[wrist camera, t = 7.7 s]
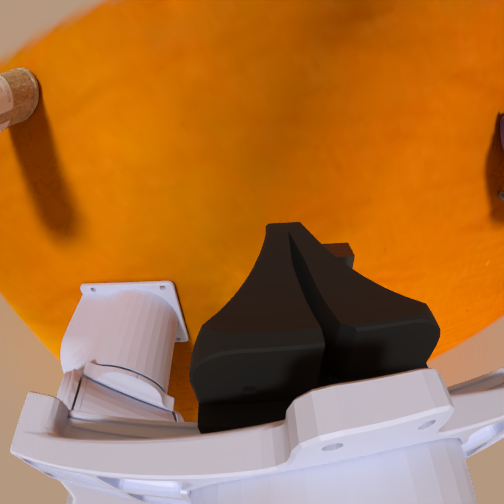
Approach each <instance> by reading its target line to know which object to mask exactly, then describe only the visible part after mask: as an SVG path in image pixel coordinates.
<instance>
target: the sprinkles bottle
mask: <svg viewBox="0 0 504 504" xmlns="http://www.w3.org/2000/svg"><path fill="white" fill-rule="evenodd" d="M38 89H39V86H38V82H37V79H36V77H35V76H34V75H33V73H32V72H31V71H30V70H28V69H27V68H15V69H12V70H10V71H8V72H3V73H0V132H1V131H3V130H4V129H5V128H7V127H9V126H11V125H13V124H16V123H21V122H23V121H25V120H26V119H28V118H29V117H30V116H31V114H32V113H33V112H34V110H35V108H36V106H37V104H38V98H39V90H38Z"/></svg>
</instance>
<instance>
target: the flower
mask: <svg viewBox="0 0 504 504" xmlns="http://www.w3.org/2000/svg"><path fill="white" fill-rule="evenodd" d="M500 134H501V143H502V147H503V150H504V115H503V116H502V117H501V119H500ZM498 197H499V198H500V199H501V200H503V201H504V191H500V192H499V194H498Z"/></svg>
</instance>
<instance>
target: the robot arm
mask: <svg viewBox="0 0 504 504" xmlns="http://www.w3.org/2000/svg"><path fill="white" fill-rule="evenodd" d="M162 286H165V287H162ZM93 288H94V289H93ZM80 290H81V292H82V294H83V295H82V297H81V299H80V302H79V304H78V306H77V308H76V310H75V312H74V314H73V317H72V319H71V321H70V323H69V325H68V328H67V330H66V332H65V335H64V337H63V340H62V344H61V366H62V369H63V372H64V377H63V380H62V382H61V385H60V387H59V390H58V393H57V396H56V397H54V396H50V395H46V394H41V393H36V392H28V395H27V398H26V401H25V403H24V406H23V409H22V412H21V415H20V419H19V421H18V425H17V428H16V431H15V434H14V438H13V441H12V445H11V448H10V452H11V453H12V454H13V455H15V456H16V457H18V458H19V459H21V460H23V461H24V462H25V463H27V464H29V465H30V466H32V467H34V468H35V469H37V470H39V471H40V472H42V473H44V474H45V475H47V476H49V477H51V478H54V479H57V480H59V481H60V482H61V483H62V484H63V486H64V487H65V488H66V489H67V490H68V497H67V501H66V504H478V503H477V499H476V495H475V491H474V487H473V484H472V480H471V476H470V473H469V470H468V466H467V463H466V460H465V459H466V458H468V457H469V456H472V455H474V454H475V453H477V452H479V451H481V450H483V449H485V448H487V447H488V446H490V445H492V444H494V443H496V442H497V441H499V440H500V439H502V438H504V367H503V368H500V369H498V370H495V371H493V372H490V373H488V374H485V375H482V376H480V377H477V378H474V379H471V380H468V381H465V382H462V383H459V384H456V385H453V386H450V387H446V385H445V382H444V380H443V378H442V376H441V374H440V373H439V372H438V371H437V370H436V369H433V368H428V366H427V364H426V362H427V360H428V359H429V357H430V355H431V354H432V352H433V350H434V348H435V347H436V345H437V342H438V340H439V338H440V328H439V326H438V323H437V322H436V320H435V318H434V316H433V314H432V312H431V311H430V309H429V307H428V306H427V305H426V304H425V303H422V302H420V301H417V300H414V299H411V298H408V297H405V296H402V295H400V294H398V293H395V292H393V291H391V290H389V289H386V288H384V287H382V286H380V285H378V284H376V283H375V282H373V281H371V280H369V279H367V278H366V277H364V276H362V275H361V274H359V273H358V272H356V271H355V270H353V269H352V268H350V267H349V266H347V265H346V264H345V263H343V262H342V261H341V260H339V259H338V258H337V257H336V256H334V255H333V254H332V253H331V252H330V251H329V250H327V249H326V248H325V247H324V246H323V245H322V244H321V243H320V242H319V241H318V240H317V239H316V238H315V237H314V236H313V235H312V234H311V233H310V232H309V231H308V230H307V229H306V228H305V227H304V226H303V225H302V224H301V223H300V222H292V223H272V224H268V225H267V226H266V236H265V240H264V243H263V246H262V249H261V252H260V254H259V256H258V259H257V261H256V263H255V265H254V267H253V269H252V271H251V272H250V274H249V276H248V277H247V279H246V280H245V282H244V283H243V285H242V286H241V287H240V289H239V290H238V291H237V293H236V294H235V295H234V296H233V297H232V298H231V300H230V301H229V302H228V303H227V304H226V305H225V306H224V307H223V308H222V309H221V310H220V311H219V312H218V313H217V314H215V315H214V316H213V317H212V318H211V319H210V320H208V321H207V322H206V323H205V324H203V325H202V327H201V329H200V331H199V334H198V336H197V339H196V342H195V345H194V348H193V352H192V356H191V363H190V374H189V375H190V382H191V384H192V387H193V389H194V392H195V394H196V397H197V400H198V402H199V409H198V422H184V419H183V417H182V415H181V414H180V413H179V412H178V411H175V410H173V408H174V398H173V397H171V396H169V395H167V392H168V385H169V377H170V370H171V363H172V357H173V350H174V344H175V342H186V341H188V338H189V336H188V333H187V329H186V326H185V322H184V319H183V315H182V312H181V308H180V304H179V301H178V297H177V293H176V289H175V285H174V283H173V282H171V281H151V282H123V283H88V284H82V285H81V287H80Z"/></svg>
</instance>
